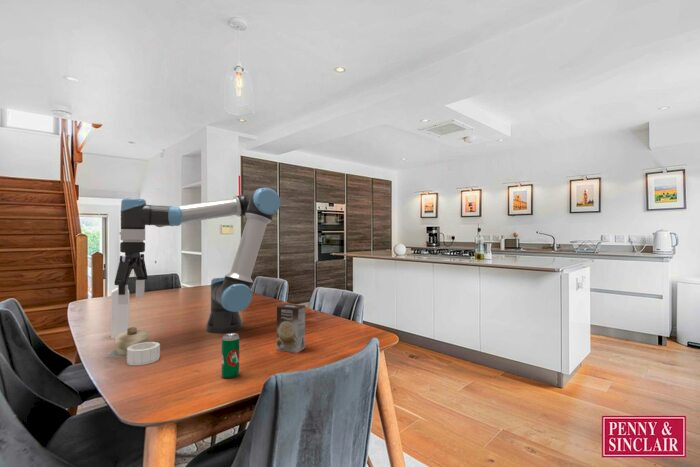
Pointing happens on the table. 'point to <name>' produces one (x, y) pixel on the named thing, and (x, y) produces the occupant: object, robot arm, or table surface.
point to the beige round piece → (129, 340)
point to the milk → (118, 315)
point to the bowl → (143, 353)
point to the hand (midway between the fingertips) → (131, 300)
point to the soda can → (230, 355)
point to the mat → (113, 355)
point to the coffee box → (290, 327)
